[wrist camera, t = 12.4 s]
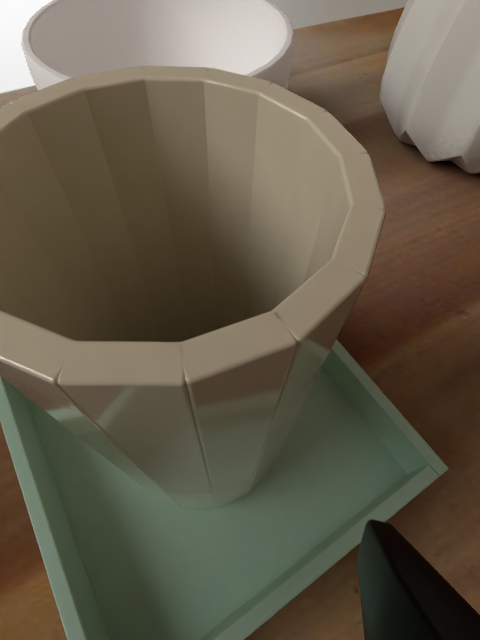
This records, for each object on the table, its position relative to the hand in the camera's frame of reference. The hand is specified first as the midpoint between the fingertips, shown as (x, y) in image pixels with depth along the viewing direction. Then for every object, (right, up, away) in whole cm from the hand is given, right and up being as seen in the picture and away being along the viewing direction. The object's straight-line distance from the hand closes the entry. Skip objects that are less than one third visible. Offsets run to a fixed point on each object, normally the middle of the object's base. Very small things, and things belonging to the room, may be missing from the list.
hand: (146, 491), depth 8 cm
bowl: (-3, +15, +19) cm, 24 cm away
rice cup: (0, -1, +8) cm, 8 cm away
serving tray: (0, -1, +9) cm, 9 cm away
